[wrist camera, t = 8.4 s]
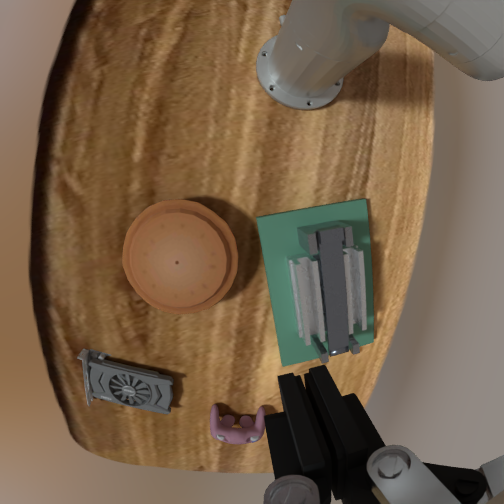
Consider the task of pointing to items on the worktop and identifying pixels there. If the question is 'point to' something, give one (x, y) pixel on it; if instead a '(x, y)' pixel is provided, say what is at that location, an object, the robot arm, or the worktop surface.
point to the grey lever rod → (334, 288)
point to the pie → (180, 256)
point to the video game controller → (237, 435)
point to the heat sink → (311, 288)
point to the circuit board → (287, 244)
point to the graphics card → (125, 383)
